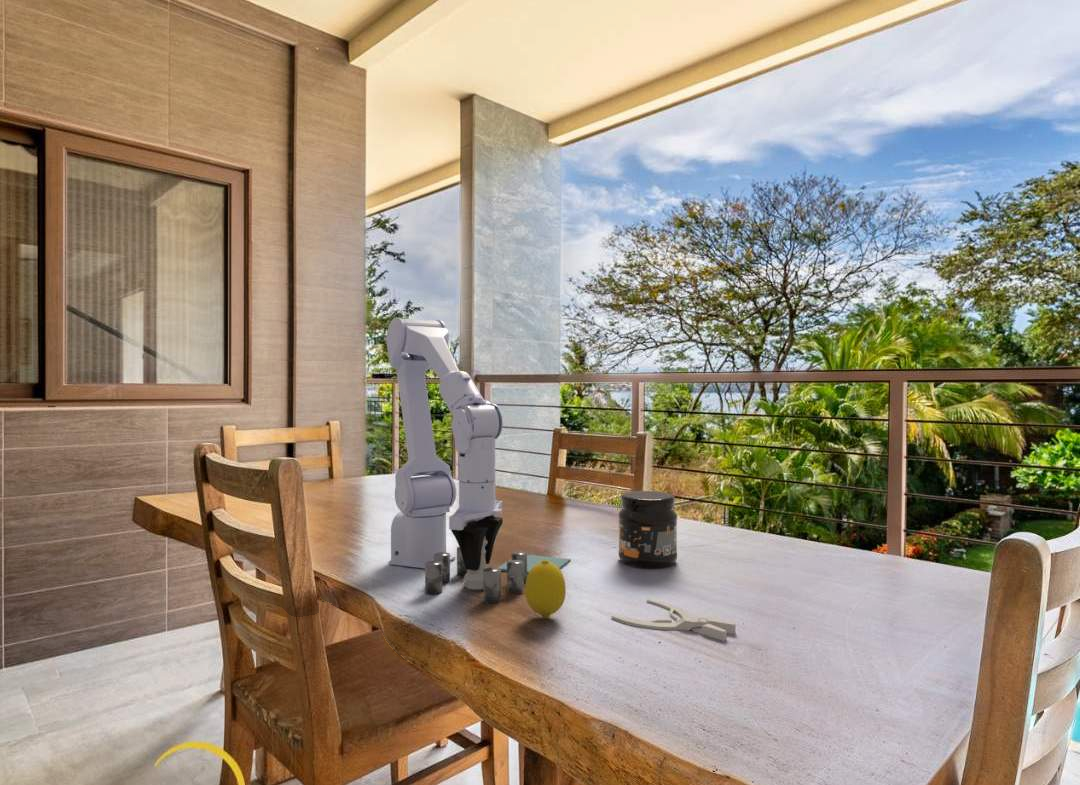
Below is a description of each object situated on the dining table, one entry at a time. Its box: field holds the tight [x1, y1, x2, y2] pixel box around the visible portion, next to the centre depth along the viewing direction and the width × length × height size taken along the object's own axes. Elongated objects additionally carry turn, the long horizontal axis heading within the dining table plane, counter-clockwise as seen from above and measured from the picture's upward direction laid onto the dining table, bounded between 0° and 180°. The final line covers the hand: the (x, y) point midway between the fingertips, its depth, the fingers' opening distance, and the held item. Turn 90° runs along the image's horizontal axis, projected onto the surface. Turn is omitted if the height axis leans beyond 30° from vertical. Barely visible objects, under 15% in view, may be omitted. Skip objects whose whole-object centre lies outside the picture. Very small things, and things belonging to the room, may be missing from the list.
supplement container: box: [617, 490, 678, 569], centre depth 116 cm, size 10×10×12 cm
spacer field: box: [424, 546, 528, 604], centre depth 102 cm, size 16×13×4 cm
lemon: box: [524, 560, 567, 619], centre depth 88 cm, size 6×6×8 cm
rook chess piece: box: [463, 537, 488, 591], centre depth 102 cm, size 4×4×8 cm
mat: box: [497, 554, 571, 575], centre depth 113 cm, size 10×10×1 cm
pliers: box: [611, 598, 736, 642], centre depth 86 cm, size 10×2×15 cm
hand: (477, 566), depth 102 cm, fingers closed on rook chess piece, 3 cm apart
